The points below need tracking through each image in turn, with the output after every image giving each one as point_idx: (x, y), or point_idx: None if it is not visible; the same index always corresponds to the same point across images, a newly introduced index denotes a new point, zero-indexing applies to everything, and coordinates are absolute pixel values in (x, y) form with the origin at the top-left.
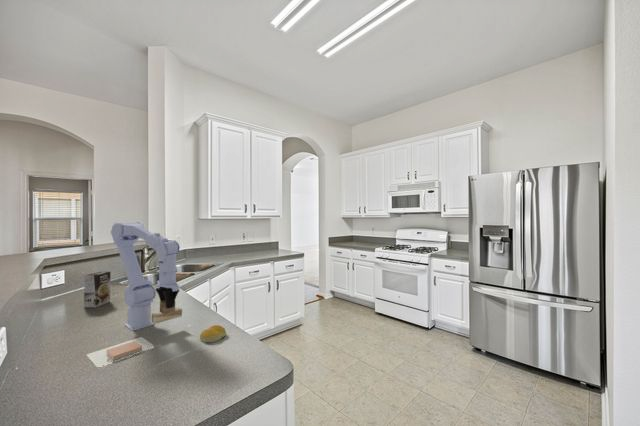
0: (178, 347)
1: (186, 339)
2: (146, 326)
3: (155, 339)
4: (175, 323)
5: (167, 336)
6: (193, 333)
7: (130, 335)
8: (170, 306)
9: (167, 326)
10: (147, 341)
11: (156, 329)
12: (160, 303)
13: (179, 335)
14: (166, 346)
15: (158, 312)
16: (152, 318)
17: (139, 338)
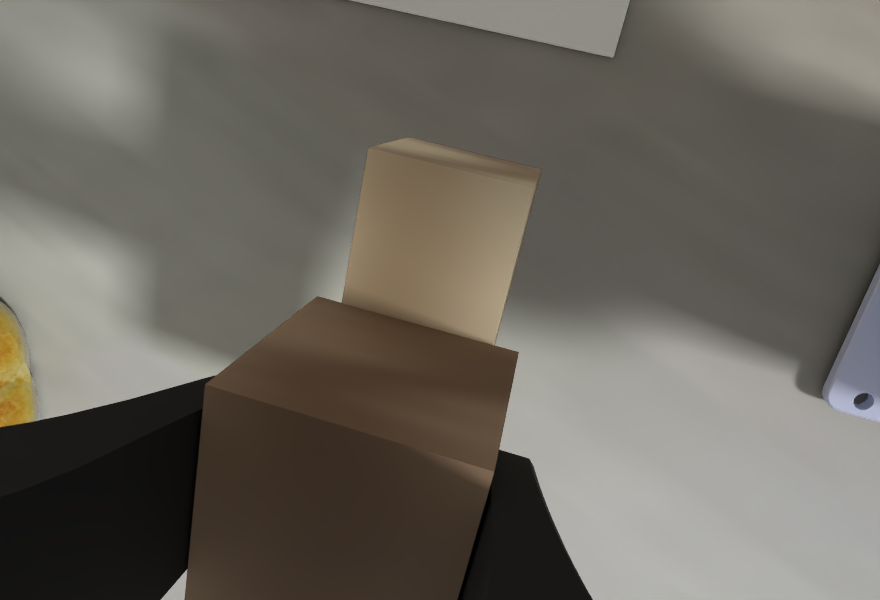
0: (15, 84)
1: (109, 245)
2: (863, 301)
3: (393, 102)
4: (587, 506)
5: (343, 216)
6: (173, 373)
7: (837, 27)
8: None
9: (601, 413)
10: (410, 6)
11: (654, 303)
12: (471, 433)
13: (252, 286)
14: (129, 41)
15: (489, 306)
16: (498, 167)
17: (590, 11)
